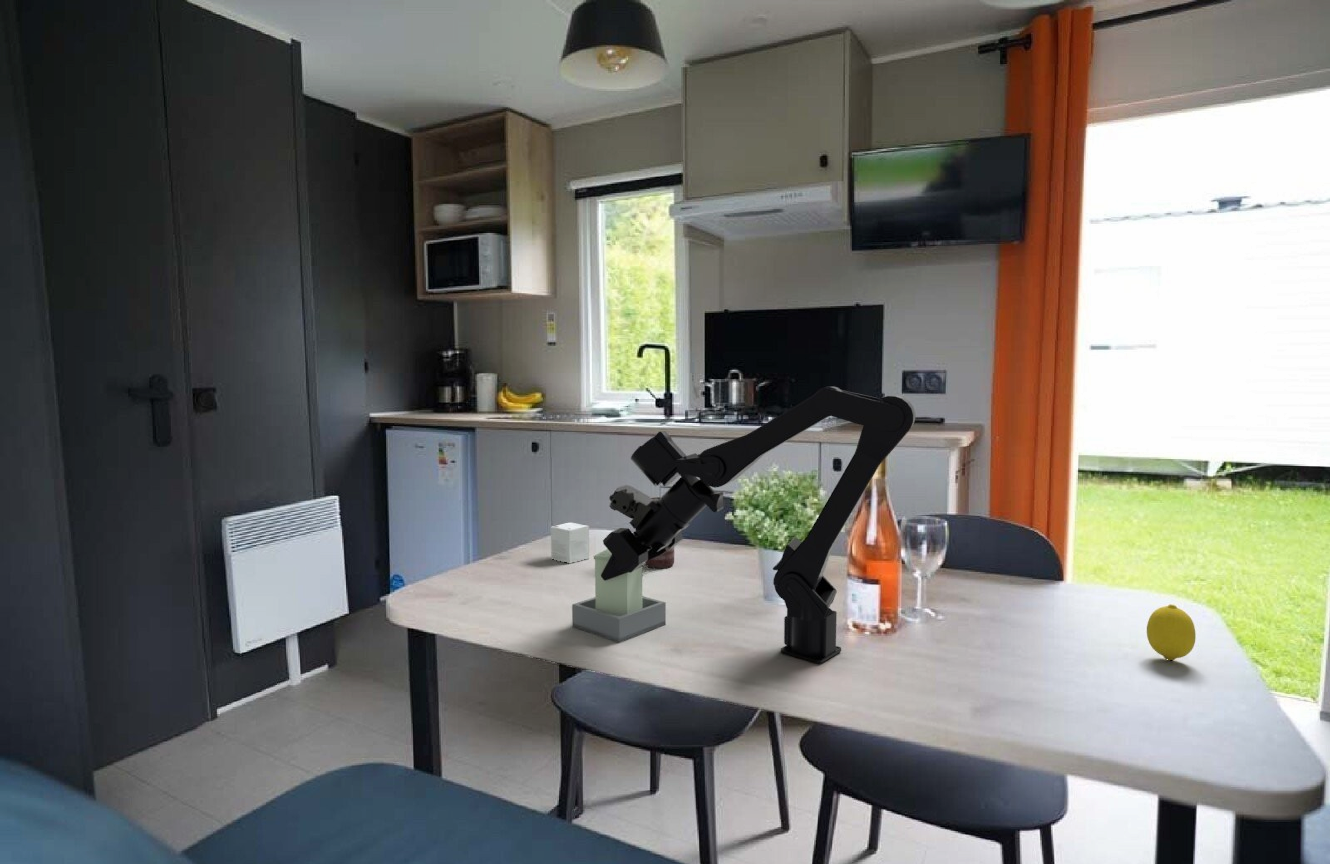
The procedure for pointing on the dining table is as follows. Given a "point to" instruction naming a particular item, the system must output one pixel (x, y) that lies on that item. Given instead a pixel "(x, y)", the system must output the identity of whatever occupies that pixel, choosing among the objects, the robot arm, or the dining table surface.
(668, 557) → the can
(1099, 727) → the dining table surface
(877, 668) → the dining table surface
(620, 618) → the crate
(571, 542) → the skincare box
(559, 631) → the dining table surface
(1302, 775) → the dining table surface
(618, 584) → the small green box
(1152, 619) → the lemon
